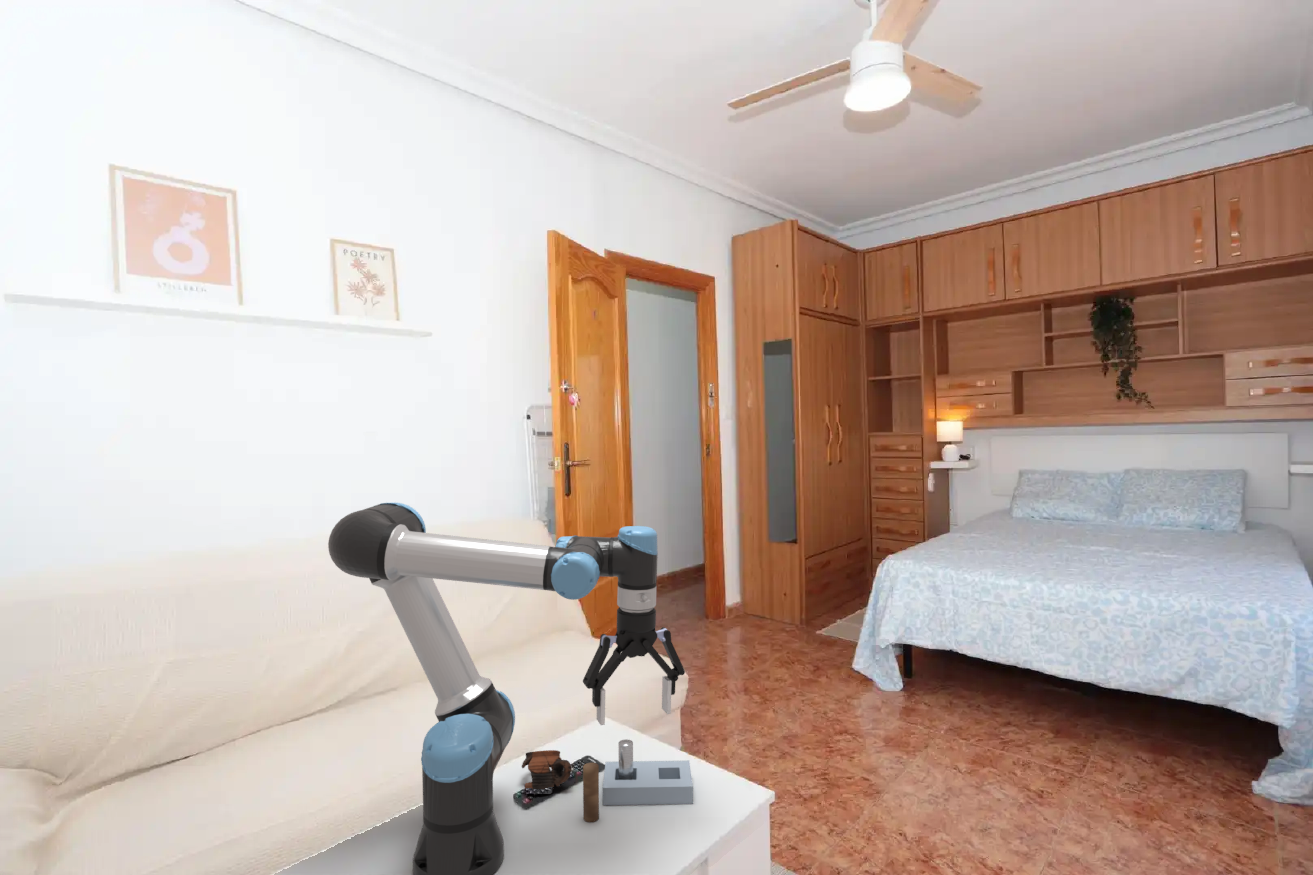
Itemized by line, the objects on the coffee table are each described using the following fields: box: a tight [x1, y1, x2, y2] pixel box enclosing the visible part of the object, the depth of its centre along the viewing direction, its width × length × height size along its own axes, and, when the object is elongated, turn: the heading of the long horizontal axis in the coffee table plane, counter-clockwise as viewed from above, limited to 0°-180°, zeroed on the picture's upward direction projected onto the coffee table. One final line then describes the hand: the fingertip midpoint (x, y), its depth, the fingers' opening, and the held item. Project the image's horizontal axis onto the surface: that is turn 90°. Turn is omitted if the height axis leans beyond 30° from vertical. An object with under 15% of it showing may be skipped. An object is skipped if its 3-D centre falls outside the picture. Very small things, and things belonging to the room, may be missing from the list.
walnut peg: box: [582, 762, 600, 823], centre depth 126 cm, size 3×3×10 cm
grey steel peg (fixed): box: [618, 738, 634, 780], centre depth 135 cm, size 3×3×10 cm
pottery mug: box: [521, 749, 573, 790], centre depth 138 cm, size 12×10×8 cm
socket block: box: [602, 759, 694, 806], centre depth 135 cm, size 18×10×4 cm, turn 91°
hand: (634, 716), depth 126 cm, fingers open, 13 cm apart
